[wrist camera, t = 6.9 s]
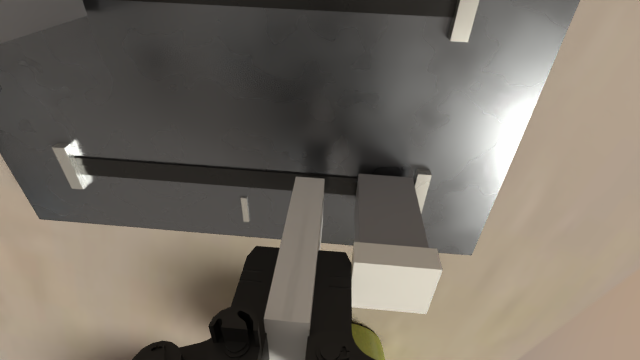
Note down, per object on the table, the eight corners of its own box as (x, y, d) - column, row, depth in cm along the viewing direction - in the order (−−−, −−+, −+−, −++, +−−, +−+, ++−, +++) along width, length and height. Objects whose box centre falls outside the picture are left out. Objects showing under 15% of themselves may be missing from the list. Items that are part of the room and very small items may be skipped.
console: (58, 202, 21) (34, 224, 19) (-143, -173, 11) (-220, -189, 10) (464, 235, 20) (473, 261, 18) (614, -152, 10) (660, -167, 9)
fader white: (349, 210, 17) (347, 306, 12) (354, 169, 15) (354, 262, 11) (408, 215, 17) (426, 313, 12) (418, 174, 15) (442, 270, 11)
